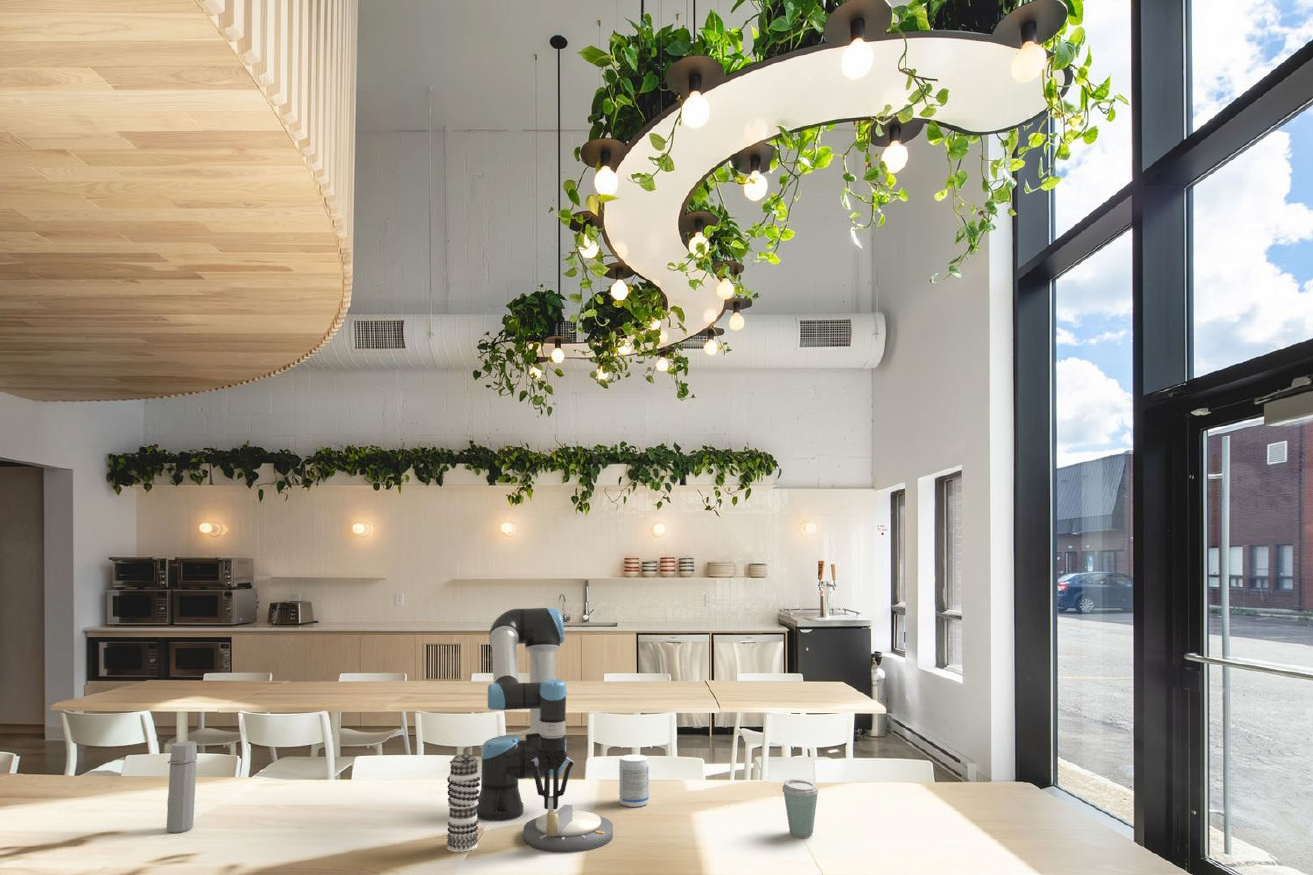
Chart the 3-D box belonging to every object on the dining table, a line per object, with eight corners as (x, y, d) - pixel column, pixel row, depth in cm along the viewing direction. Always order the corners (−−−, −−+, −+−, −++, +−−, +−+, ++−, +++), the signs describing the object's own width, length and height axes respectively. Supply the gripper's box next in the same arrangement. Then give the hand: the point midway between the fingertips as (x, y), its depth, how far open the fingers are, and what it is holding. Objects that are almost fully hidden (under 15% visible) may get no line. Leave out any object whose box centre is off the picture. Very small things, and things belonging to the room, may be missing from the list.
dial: (549, 813, 280) (550, 789, 280) (609, 818, 275) (609, 793, 276) (518, 838, 256) (518, 812, 257) (582, 844, 252) (582, 817, 252)
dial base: (504, 841, 264) (505, 829, 264) (560, 817, 286) (560, 806, 286) (577, 858, 250) (577, 845, 250) (629, 832, 272) (629, 820, 272)
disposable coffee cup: (821, 831, 273) (821, 779, 275) (816, 842, 263) (815, 788, 265) (786, 827, 277) (786, 776, 278) (779, 838, 267) (778, 785, 268)
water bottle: (199, 827, 275) (204, 742, 278) (176, 835, 268) (181, 747, 271) (178, 823, 279) (183, 739, 282) (155, 830, 272) (160, 744, 275)
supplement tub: (654, 804, 299) (654, 758, 301) (629, 809, 294) (629, 762, 296) (638, 797, 308) (638, 752, 309) (613, 802, 302) (614, 756, 304)
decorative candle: (462, 854, 253) (465, 761, 255) (438, 848, 257) (440, 757, 260) (485, 845, 260) (487, 754, 263) (461, 839, 265) (463, 750, 268)
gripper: (527, 737, 260) (525, 824, 257) (573, 738, 259) (571, 825, 257) (532, 732, 267) (530, 815, 265) (576, 732, 267) (575, 816, 264)
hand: (550, 820), depth 261 cm, fingers closed
